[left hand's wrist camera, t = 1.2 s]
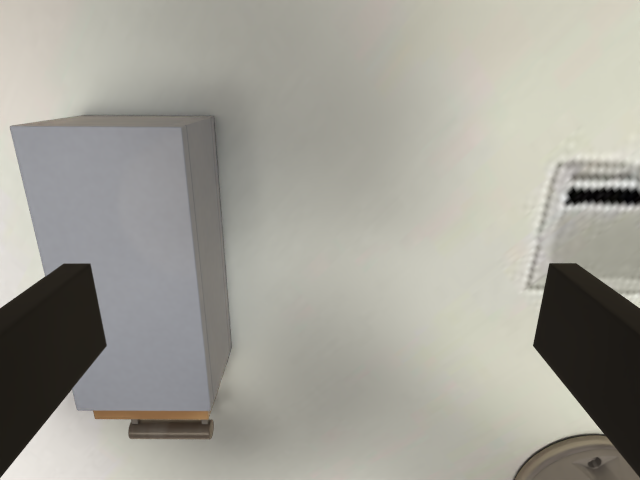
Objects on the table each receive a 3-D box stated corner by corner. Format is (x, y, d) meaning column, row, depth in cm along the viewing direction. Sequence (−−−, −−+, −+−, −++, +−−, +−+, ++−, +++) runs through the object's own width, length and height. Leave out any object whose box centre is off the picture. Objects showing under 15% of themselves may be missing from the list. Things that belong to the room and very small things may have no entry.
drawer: (228, 413, 44) (213, 468, 38) (135, 413, 44) (105, 468, 38) (206, 157, 35) (182, 174, 29) (89, 156, 35) (40, 173, 29)
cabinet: (231, 348, 42) (210, 411, 34) (123, 347, 42) (76, 410, 34) (213, 115, 35) (181, 126, 27) (81, 115, 35) (8, 125, 27)
